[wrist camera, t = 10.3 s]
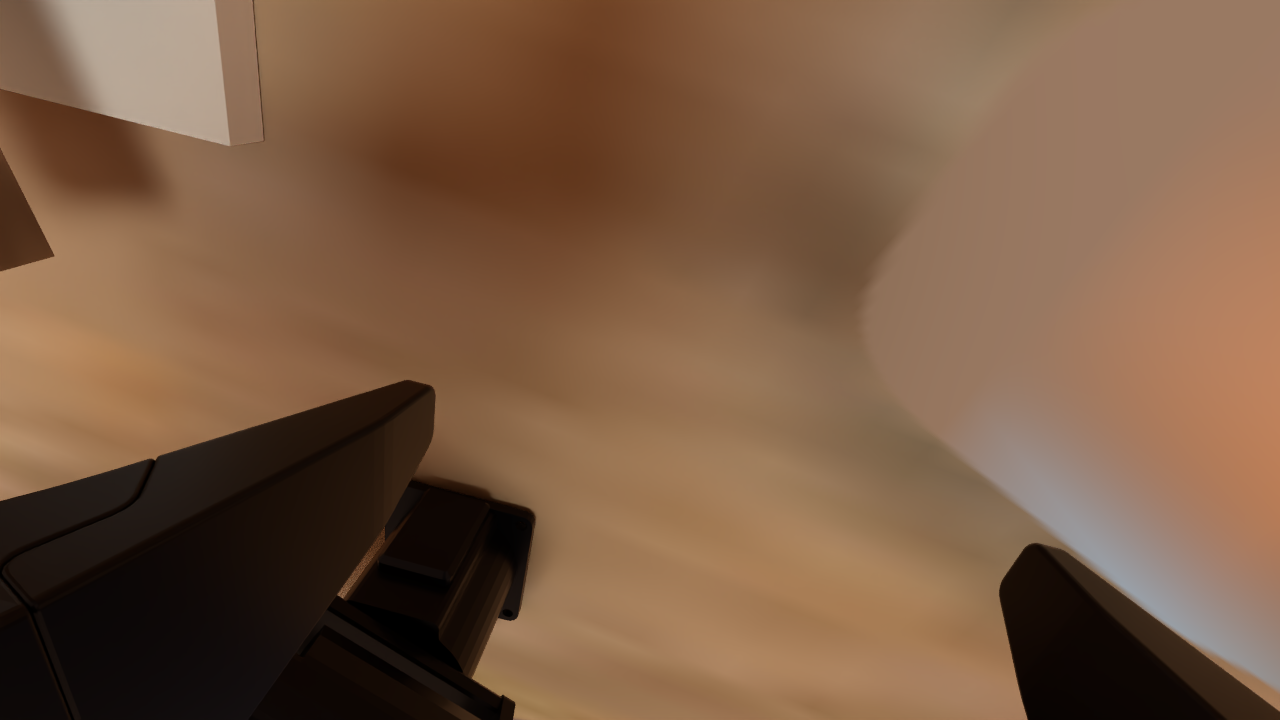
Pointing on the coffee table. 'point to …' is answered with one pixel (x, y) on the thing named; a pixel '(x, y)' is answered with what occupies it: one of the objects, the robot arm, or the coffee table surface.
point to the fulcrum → (140, 62)
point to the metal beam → (18, 225)
